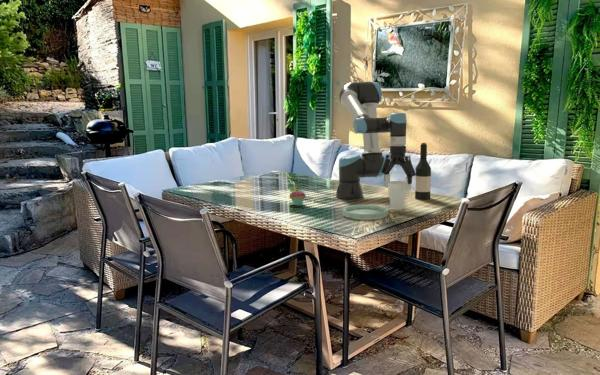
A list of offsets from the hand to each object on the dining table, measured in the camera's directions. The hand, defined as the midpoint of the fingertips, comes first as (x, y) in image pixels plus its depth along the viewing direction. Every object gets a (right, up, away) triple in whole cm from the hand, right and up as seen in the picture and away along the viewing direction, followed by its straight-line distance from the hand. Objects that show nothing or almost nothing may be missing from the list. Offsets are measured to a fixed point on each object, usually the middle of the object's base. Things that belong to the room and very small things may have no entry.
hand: (397, 189), depth 219 cm
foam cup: (0, -10, +2) cm, 10 cm away
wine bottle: (+19, -5, +25) cm, 32 cm away
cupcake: (-49, -8, +17) cm, 53 cm away
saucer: (-17, -12, -9) cm, 23 cm away
